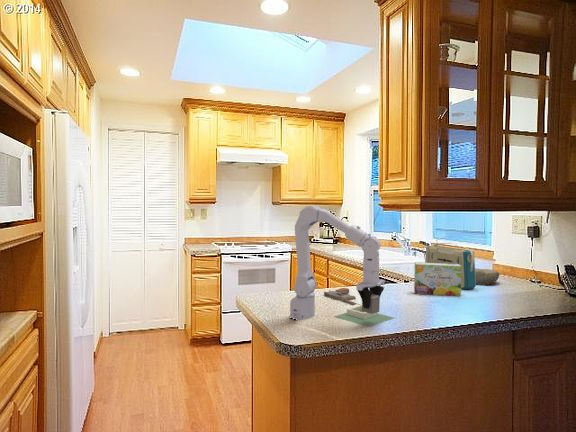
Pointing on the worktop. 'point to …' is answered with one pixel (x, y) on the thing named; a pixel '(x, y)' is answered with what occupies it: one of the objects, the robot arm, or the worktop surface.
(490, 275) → the stone
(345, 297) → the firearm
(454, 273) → the snack box
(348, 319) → the board
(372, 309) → the plug
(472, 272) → the radio
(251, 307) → the worktop surface
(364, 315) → the socket
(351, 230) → the robot arm
